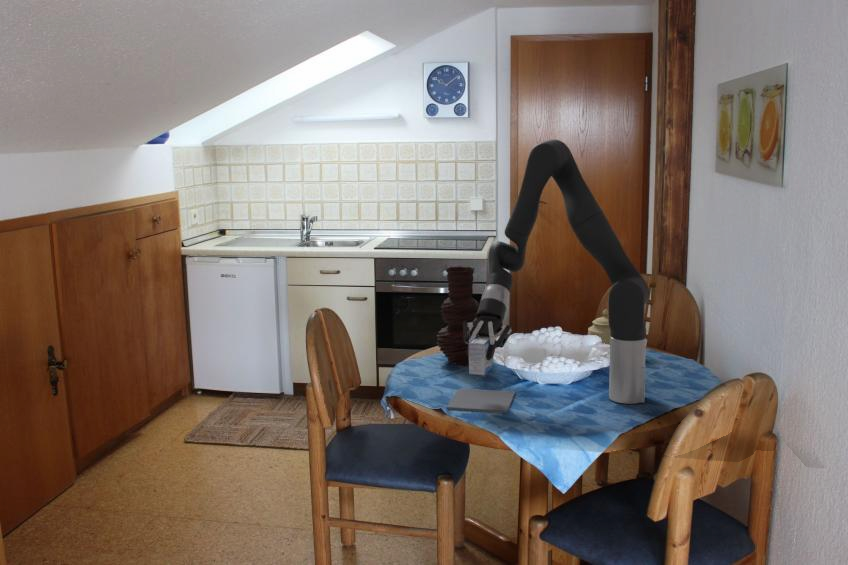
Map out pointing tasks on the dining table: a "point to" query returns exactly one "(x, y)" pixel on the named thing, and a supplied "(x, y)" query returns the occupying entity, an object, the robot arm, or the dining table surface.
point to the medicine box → (479, 356)
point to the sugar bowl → (601, 328)
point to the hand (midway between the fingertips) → (478, 357)
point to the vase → (457, 314)
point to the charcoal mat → (481, 400)
